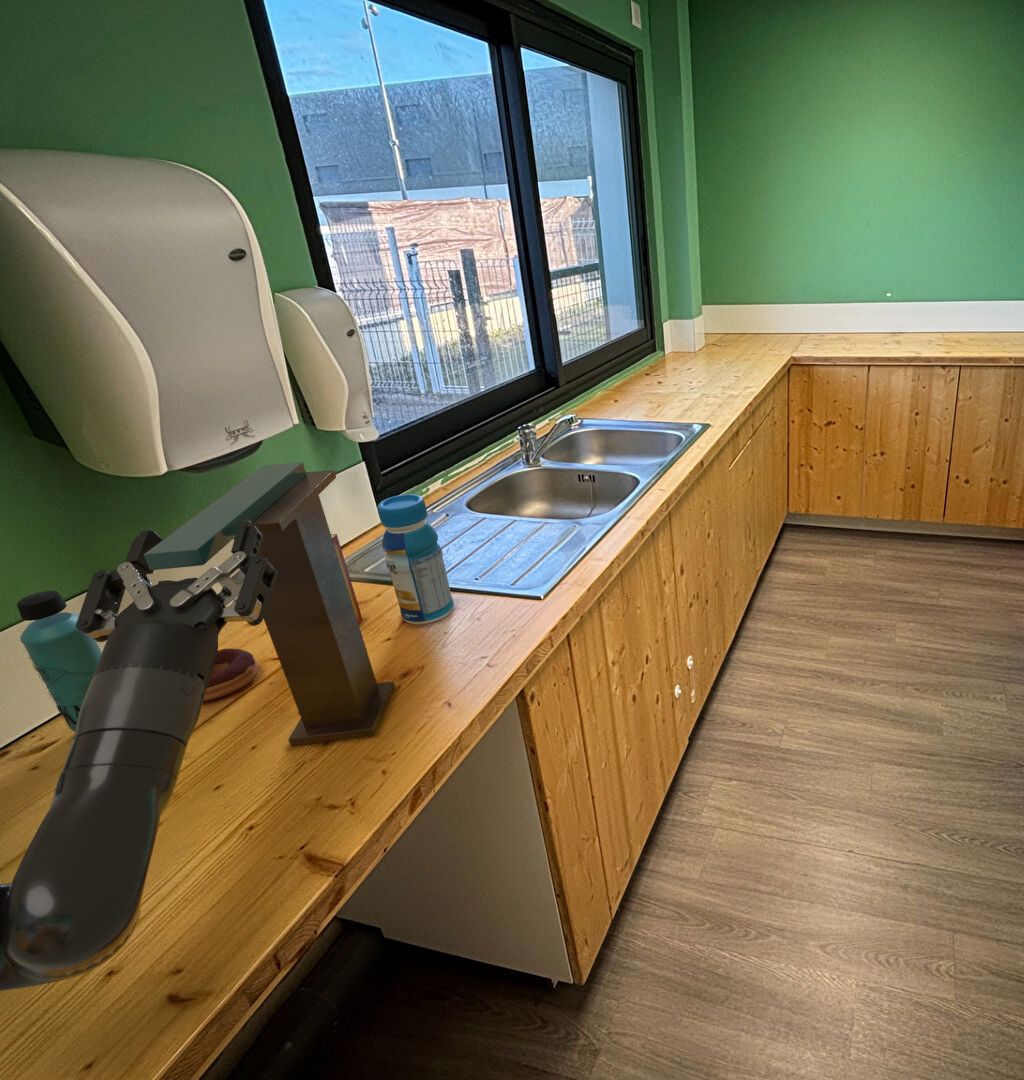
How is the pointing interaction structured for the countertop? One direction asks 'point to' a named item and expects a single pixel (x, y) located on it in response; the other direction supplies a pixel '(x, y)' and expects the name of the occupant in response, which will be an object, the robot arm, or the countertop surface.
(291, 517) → the stand
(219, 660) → the donut
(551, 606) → the countertop surface
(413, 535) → the beverage bottle
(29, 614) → the beverage bottle
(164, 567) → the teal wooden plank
